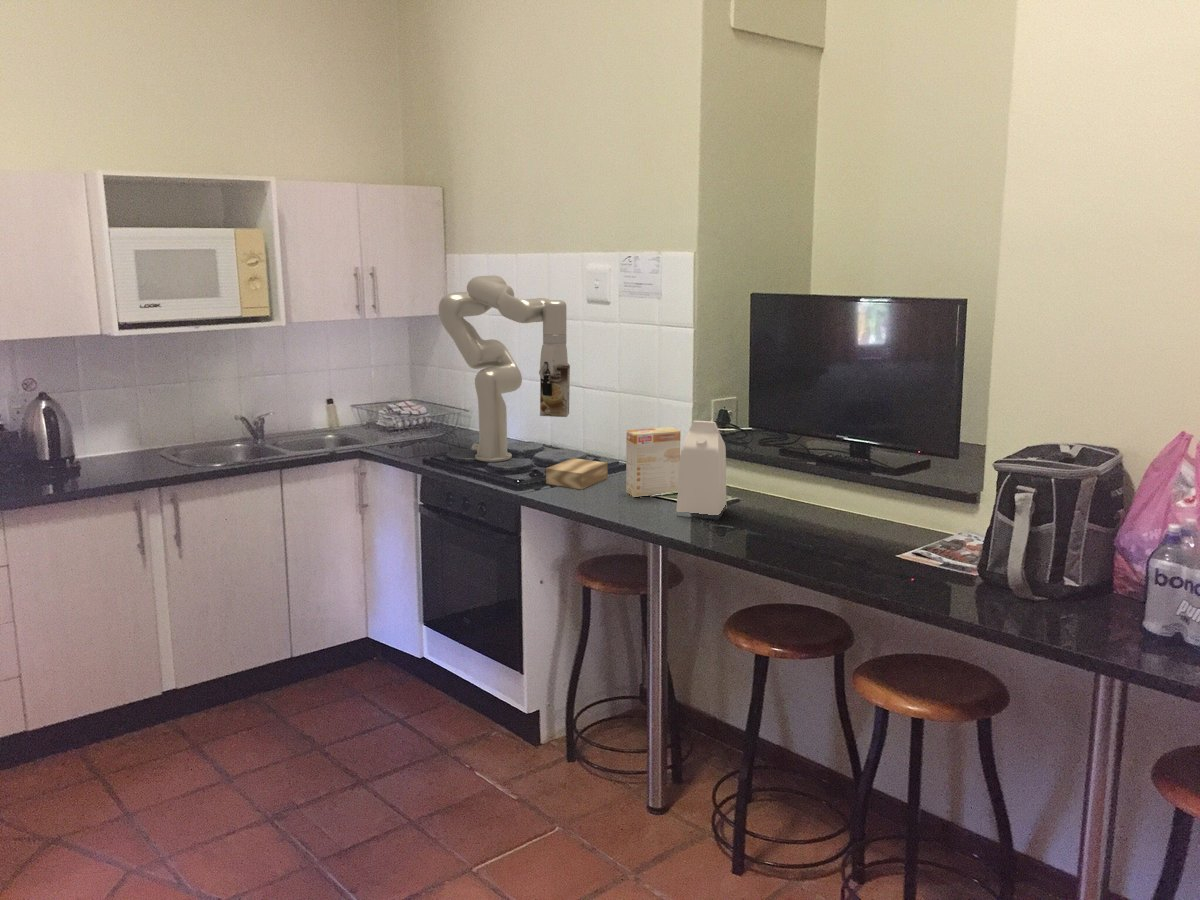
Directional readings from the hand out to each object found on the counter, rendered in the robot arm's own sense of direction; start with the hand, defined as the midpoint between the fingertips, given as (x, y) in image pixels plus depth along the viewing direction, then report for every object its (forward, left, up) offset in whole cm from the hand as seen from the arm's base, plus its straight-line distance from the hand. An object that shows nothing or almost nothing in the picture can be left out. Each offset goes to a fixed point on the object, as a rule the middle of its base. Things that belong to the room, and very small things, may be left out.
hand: (554, 393), depth 312 cm
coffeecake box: (+40, -9, -26) cm, 49 cm away
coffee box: (0, 0, -7) cm, 7 cm away
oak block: (+13, -8, -26) cm, 30 cm away
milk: (+61, -20, -26) cm, 69 cm away
